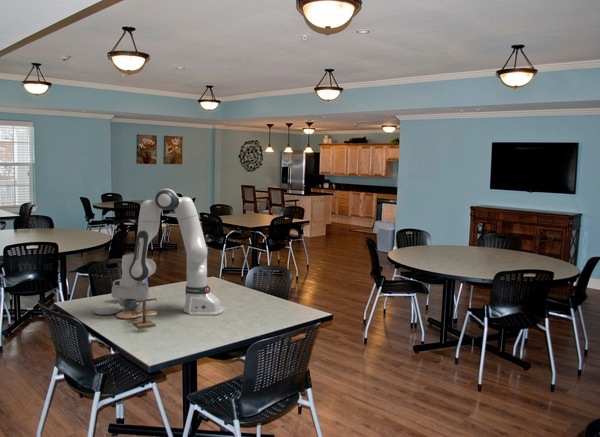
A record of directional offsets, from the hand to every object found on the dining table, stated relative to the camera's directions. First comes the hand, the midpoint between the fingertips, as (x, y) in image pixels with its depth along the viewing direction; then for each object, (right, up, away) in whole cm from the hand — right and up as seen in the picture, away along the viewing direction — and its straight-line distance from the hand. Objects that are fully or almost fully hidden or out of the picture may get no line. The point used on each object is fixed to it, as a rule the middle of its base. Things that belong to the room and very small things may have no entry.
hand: (130, 306), depth 285 cm
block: (0, -2, 0) cm, 2 cm away
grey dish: (-11, -2, -5) cm, 12 cm away
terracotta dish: (+3, -3, -11) cm, 12 cm away
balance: (+15, -5, -26) cm, 31 cm away
